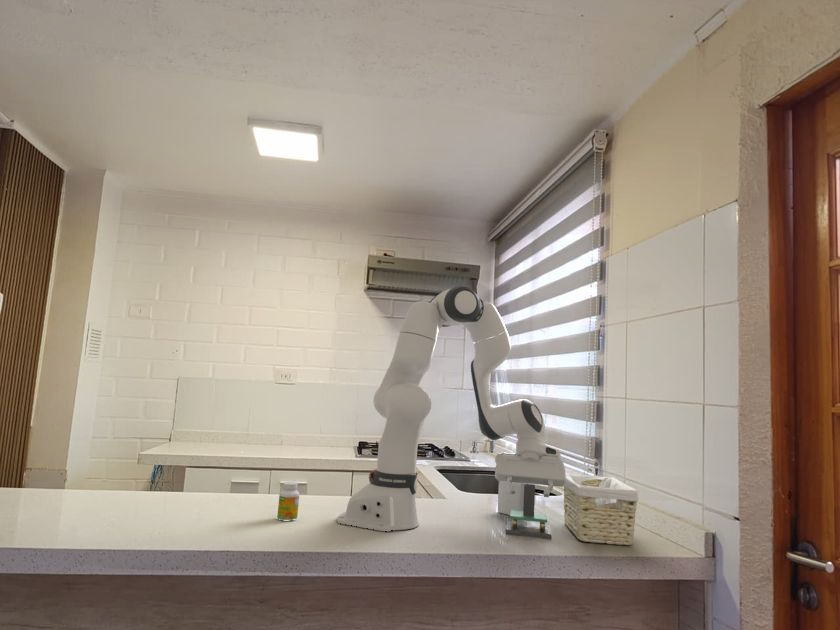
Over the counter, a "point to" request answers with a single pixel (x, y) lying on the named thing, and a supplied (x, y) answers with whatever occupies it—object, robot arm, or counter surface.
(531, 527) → the chassis
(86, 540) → the counter surface
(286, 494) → the supplement bottle
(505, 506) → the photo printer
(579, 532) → the storage basket
